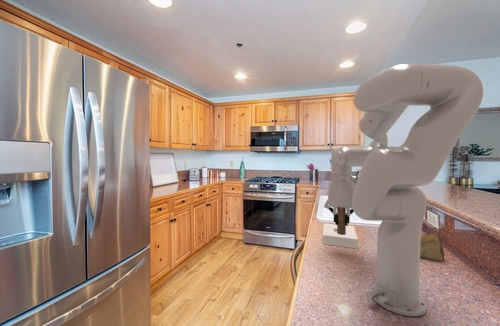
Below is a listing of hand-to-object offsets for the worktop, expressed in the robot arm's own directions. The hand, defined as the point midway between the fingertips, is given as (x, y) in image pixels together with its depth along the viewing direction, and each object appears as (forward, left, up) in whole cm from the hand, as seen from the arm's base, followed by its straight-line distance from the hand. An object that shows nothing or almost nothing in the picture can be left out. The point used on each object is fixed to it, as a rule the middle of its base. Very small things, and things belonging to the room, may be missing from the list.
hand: (341, 224), depth 88 cm
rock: (+27, -16, -12) cm, 34 cm away
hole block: (+10, +11, -12) cm, 19 cm away
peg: (0, 0, -4) cm, 4 cm away
